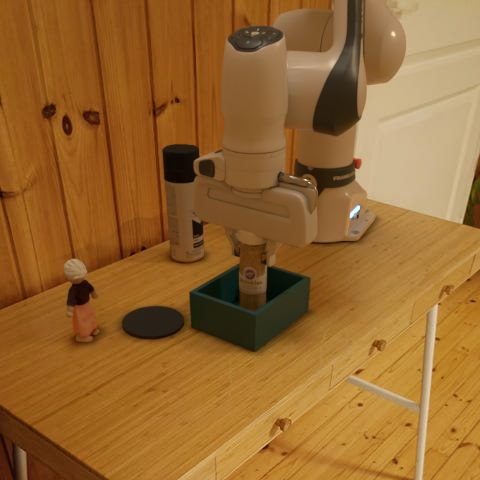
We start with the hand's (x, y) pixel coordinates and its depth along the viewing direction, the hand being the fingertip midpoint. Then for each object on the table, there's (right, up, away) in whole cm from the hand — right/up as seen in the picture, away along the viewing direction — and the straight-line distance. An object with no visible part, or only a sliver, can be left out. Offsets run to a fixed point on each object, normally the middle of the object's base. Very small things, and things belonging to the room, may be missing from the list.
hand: (253, 259), depth 94 cm
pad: (-16, -9, +5) cm, 19 cm away
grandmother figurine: (-26, -12, +2) cm, 29 cm away
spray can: (-12, +7, +26) cm, 29 cm away
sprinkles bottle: (0, -7, +5) cm, 8 cm away
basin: (0, -8, +6) cm, 10 cm away
